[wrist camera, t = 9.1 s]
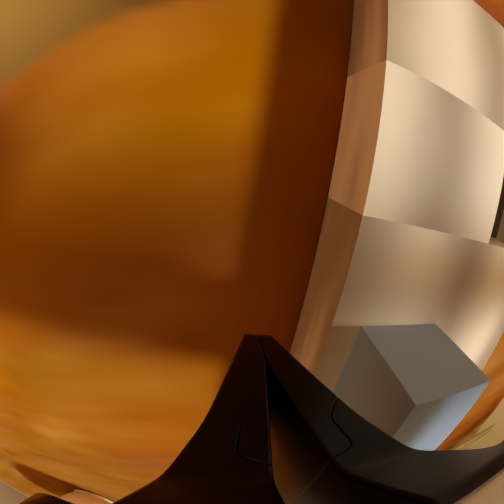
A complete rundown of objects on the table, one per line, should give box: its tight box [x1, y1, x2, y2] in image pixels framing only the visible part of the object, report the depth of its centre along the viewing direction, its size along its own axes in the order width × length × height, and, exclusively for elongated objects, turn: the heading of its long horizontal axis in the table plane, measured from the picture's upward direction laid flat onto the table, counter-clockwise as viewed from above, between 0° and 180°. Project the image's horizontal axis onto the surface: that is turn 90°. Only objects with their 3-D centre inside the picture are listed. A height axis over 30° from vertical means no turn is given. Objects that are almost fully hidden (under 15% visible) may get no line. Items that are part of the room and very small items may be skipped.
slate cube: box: [333, 324, 490, 451], centre depth 9 cm, size 4×4×4 cm
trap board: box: [290, 0, 504, 392], centre depth 11 cm, size 13×30×4 cm, turn 171°
